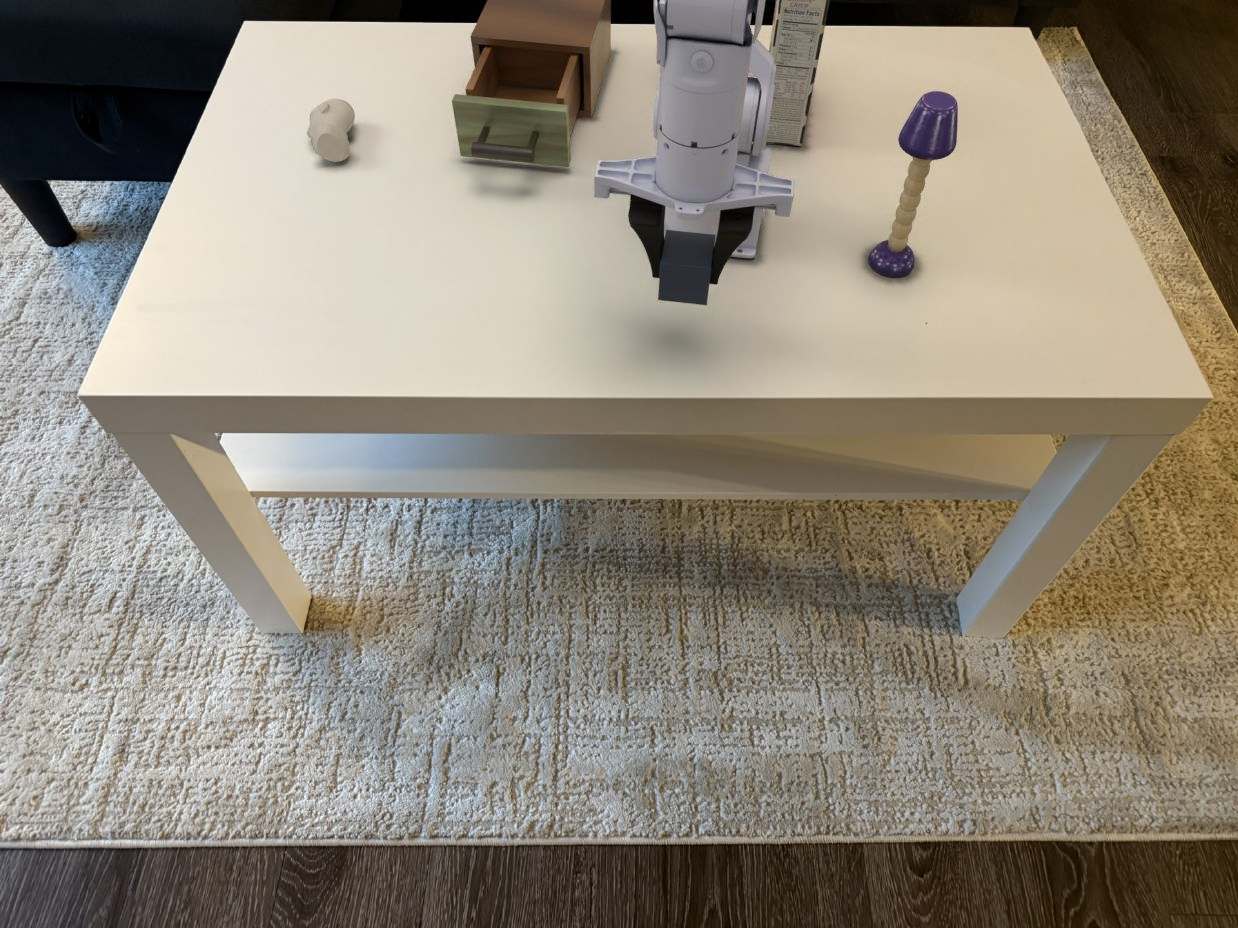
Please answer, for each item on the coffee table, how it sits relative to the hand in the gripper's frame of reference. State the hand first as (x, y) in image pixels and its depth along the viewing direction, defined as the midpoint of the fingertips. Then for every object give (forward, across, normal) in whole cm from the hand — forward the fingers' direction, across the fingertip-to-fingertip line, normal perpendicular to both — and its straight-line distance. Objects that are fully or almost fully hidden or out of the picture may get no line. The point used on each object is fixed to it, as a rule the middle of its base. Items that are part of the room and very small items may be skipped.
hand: (685, 272), depth 70 cm
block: (+1, 0, 0) cm, 1 cm away
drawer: (+7, -19, +25) cm, 32 cm away
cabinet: (+8, -19, +38) cm, 43 cm away
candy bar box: (+8, +8, +35) cm, 36 cm away
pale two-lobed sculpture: (+8, -40, +22) cm, 46 cm away
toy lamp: (+8, +18, +13) cm, 24 cm away
